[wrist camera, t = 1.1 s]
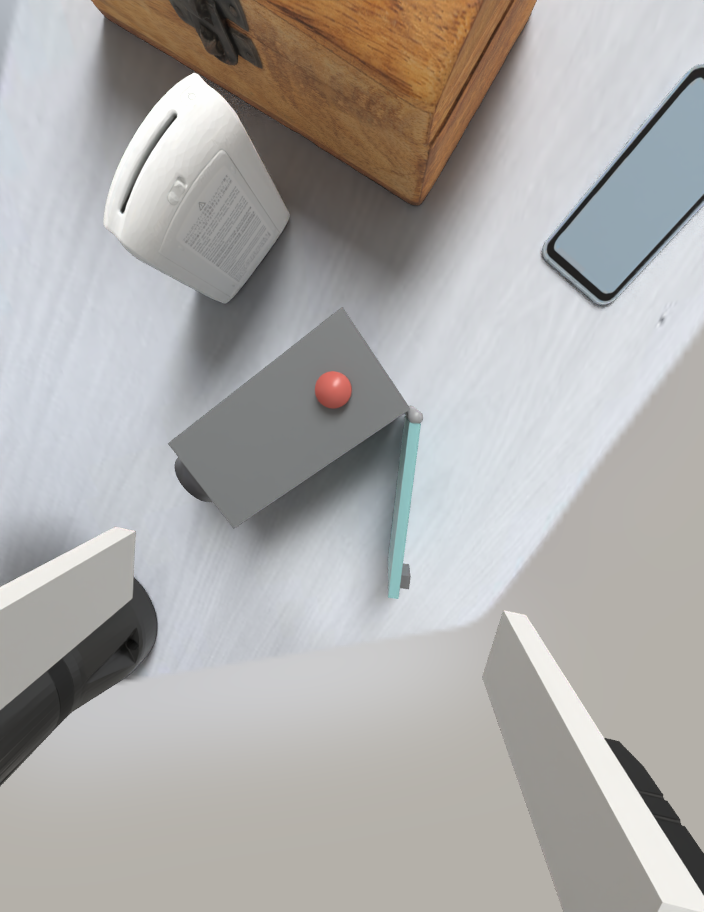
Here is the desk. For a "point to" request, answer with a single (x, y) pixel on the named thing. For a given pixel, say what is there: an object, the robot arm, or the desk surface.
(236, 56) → the wooden box
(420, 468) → the desk surface
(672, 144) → the smartphone
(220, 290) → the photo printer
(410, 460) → the side door
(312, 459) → the camera body
